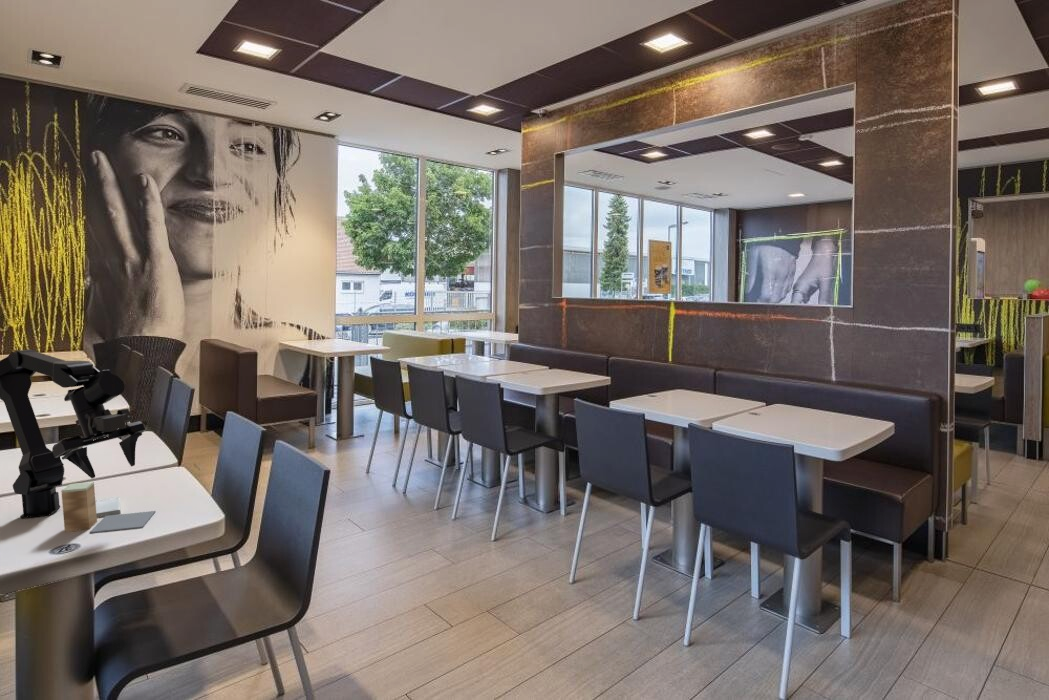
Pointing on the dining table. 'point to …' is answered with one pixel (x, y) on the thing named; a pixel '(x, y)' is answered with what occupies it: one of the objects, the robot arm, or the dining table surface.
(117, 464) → the dining table surface
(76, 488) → the oak block
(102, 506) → the hard drive
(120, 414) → the robot arm
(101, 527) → the grey mat
